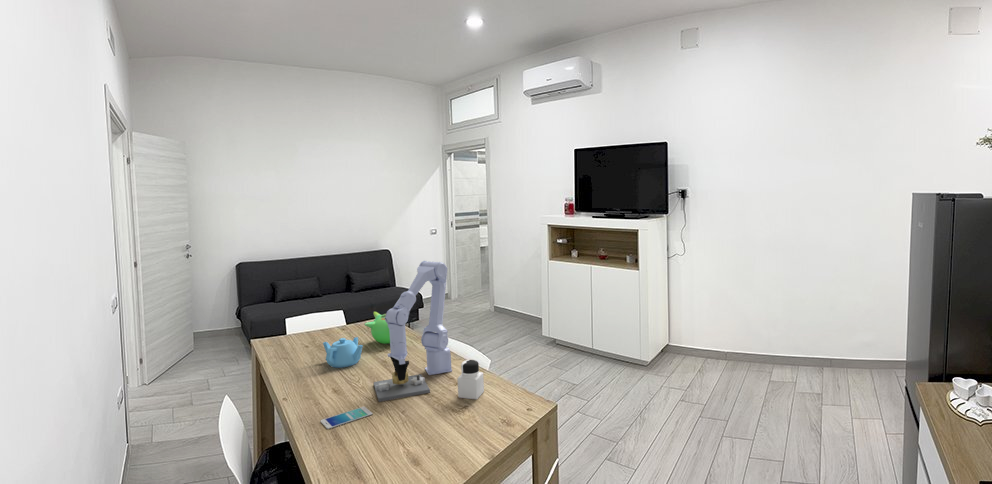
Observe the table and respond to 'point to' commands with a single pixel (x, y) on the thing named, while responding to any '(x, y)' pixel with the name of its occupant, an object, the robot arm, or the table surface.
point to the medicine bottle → (470, 380)
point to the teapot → (343, 353)
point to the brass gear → (396, 380)
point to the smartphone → (346, 417)
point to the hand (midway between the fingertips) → (400, 377)
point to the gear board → (401, 388)
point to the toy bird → (379, 329)
